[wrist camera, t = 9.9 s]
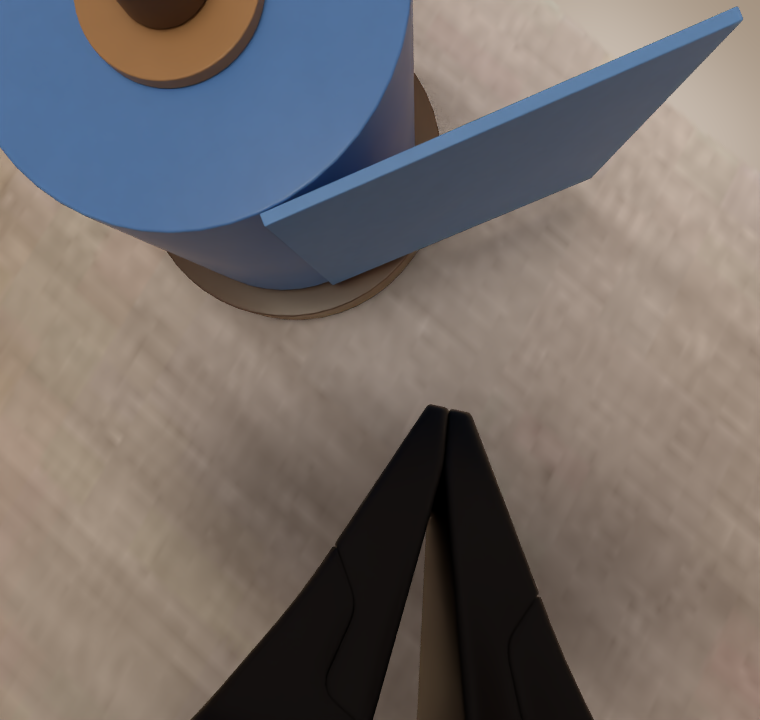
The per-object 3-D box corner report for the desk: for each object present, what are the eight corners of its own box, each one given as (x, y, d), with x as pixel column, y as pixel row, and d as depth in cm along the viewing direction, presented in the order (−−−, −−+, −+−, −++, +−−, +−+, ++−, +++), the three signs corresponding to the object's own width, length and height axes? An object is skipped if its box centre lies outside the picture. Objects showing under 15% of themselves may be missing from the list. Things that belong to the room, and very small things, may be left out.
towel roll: (586, 183, 16) (813, -54, 7) (217, 336, 18) (-14, 310, 8) (481, -71, 17) (563, -631, 7) (125, 96, 18) (-202, -197, 8)
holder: (405, 346, 19) (404, 345, 17) (138, 289, 20) (115, 283, 18) (467, 61, 19) (471, 35, 17) (193, 18, 20) (175, -10, 18)
